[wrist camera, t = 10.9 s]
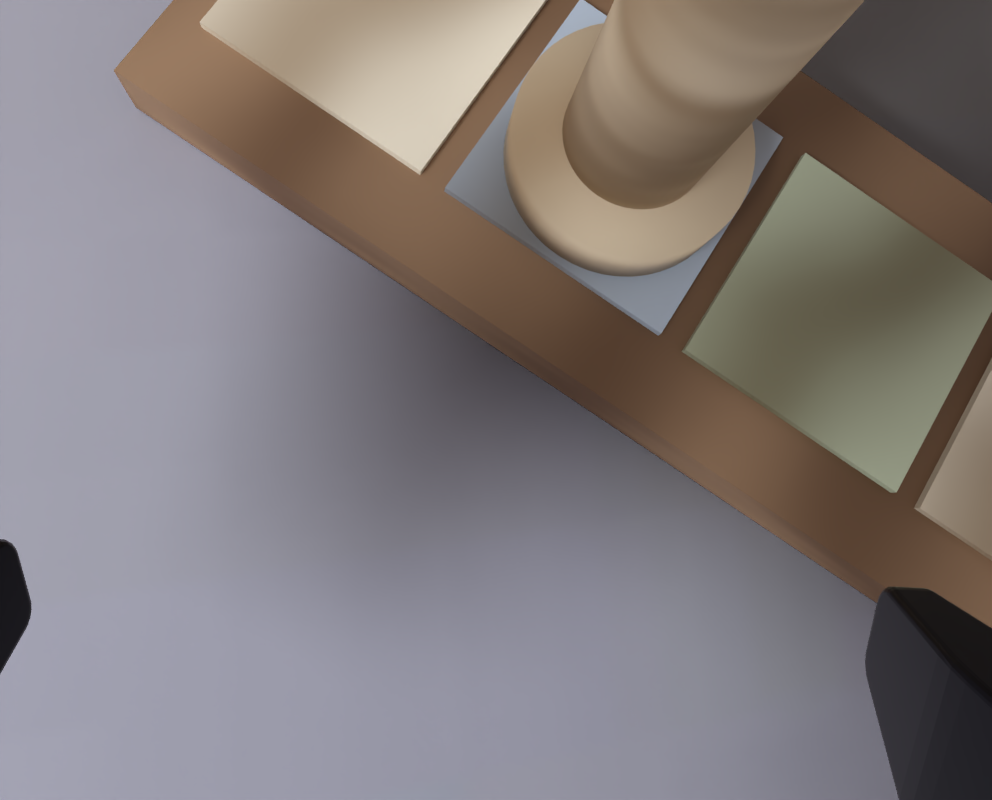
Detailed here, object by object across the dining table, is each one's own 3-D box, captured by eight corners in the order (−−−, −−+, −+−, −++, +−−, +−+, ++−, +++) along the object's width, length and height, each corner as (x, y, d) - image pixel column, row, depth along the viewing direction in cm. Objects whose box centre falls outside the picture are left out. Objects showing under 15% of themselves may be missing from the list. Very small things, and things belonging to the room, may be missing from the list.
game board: (1203, 402, 20) (1276, 392, 19) (1058, 724, 19) (1124, 744, 17) (369, -173, 20) (367, -237, 18) (136, 107, 18) (110, 64, 16)
